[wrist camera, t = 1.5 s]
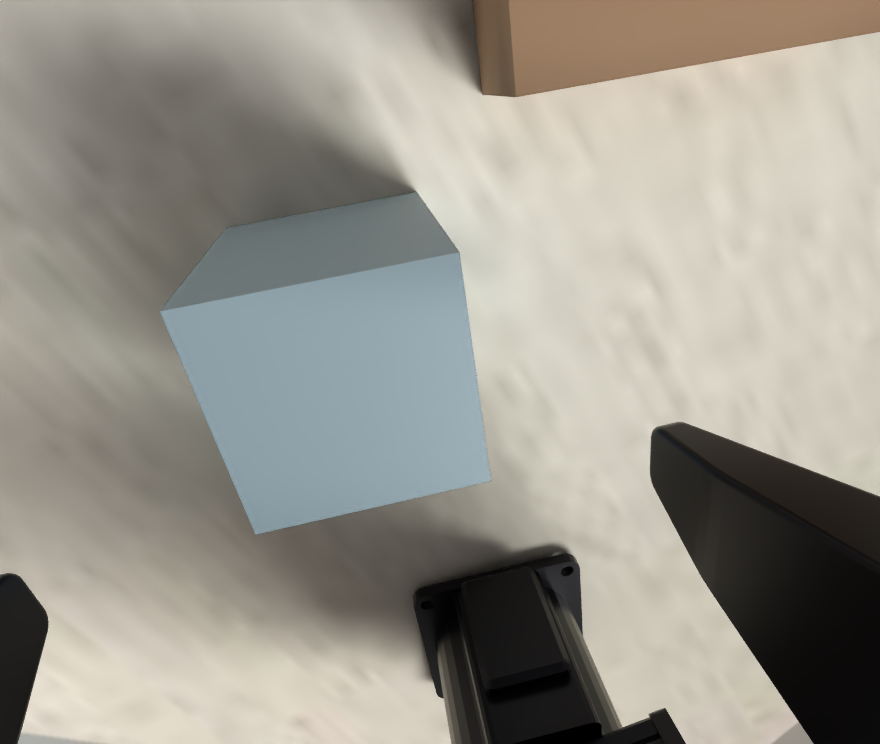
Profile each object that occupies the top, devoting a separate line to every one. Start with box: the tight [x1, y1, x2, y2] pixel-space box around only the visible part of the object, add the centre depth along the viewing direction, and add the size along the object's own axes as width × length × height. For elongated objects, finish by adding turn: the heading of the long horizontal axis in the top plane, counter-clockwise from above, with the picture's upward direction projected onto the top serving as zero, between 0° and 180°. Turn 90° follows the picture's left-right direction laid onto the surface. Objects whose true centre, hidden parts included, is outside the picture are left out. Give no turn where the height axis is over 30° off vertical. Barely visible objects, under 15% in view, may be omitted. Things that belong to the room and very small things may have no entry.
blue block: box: [160, 192, 491, 535], centre depth 13 cm, size 5×5×6 cm
